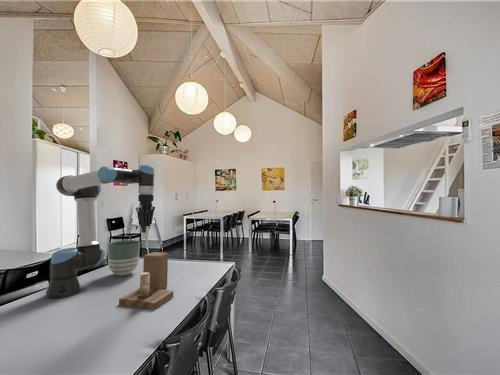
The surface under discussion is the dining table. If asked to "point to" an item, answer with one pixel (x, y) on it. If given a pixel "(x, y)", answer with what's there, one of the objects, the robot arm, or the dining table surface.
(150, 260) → the wooden block
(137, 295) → the seat board
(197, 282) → the dining table surface
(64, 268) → the robot arm
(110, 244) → the planter
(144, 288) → the peg
